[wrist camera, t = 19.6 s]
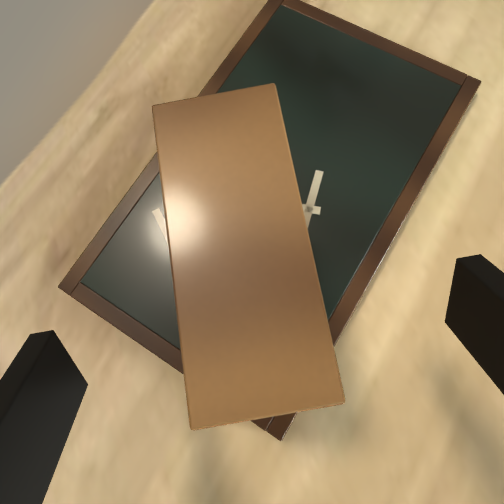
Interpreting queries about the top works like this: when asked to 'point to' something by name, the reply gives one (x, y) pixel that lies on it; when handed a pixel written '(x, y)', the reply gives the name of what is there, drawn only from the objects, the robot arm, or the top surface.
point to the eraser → (241, 261)
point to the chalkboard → (296, 169)
